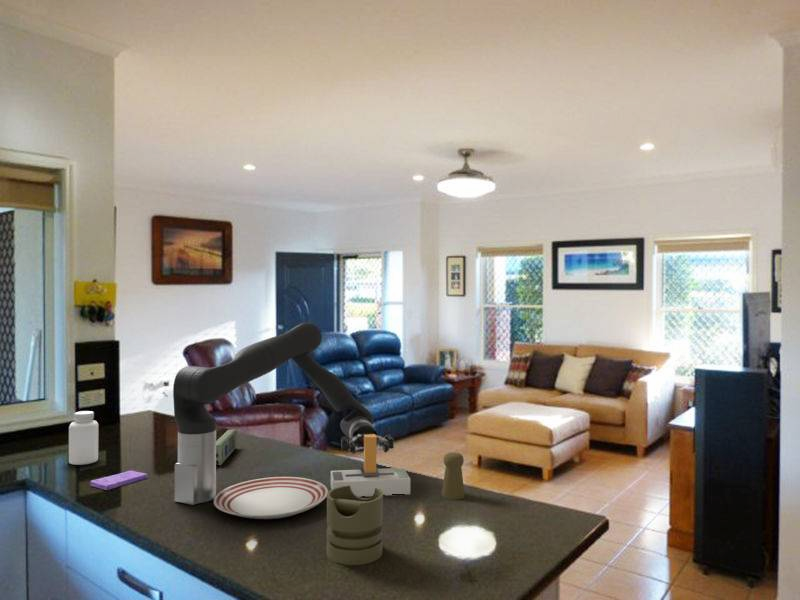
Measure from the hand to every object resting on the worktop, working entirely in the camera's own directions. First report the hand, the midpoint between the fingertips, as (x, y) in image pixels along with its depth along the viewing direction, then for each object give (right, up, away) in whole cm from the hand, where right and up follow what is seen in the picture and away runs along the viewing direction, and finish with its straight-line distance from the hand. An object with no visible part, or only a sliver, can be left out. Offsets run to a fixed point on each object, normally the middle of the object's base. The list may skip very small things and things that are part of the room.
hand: (370, 449), depth 163 cm
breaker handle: (0, -7, +1) cm, 7 cm away
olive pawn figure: (+22, -11, -3) cm, 25 cm away
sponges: (-69, -11, +5) cm, 70 cm away
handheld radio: (-47, -10, +28) cm, 56 cm away
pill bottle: (-88, -10, +24) cm, 92 cm away
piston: (-1, -12, -38) cm, 39 cm away
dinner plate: (-24, -11, -11) cm, 29 cm away
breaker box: (0, -11, +1) cm, 11 cm away
